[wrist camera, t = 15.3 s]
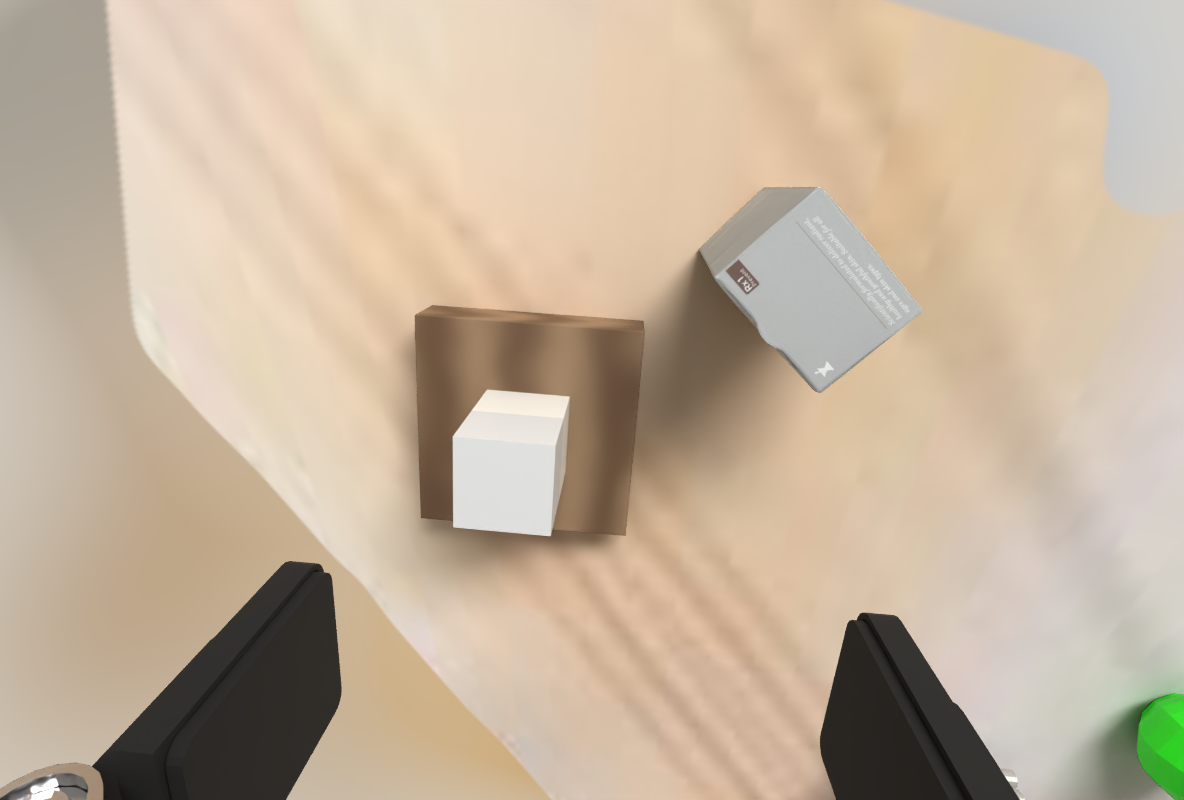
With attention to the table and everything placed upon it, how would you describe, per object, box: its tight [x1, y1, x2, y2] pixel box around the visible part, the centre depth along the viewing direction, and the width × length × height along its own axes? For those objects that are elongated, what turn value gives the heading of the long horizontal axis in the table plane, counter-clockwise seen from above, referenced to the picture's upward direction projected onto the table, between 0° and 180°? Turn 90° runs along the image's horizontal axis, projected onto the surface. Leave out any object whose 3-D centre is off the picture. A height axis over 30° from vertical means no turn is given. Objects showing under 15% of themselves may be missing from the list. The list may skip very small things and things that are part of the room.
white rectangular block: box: [453, 390, 570, 536], centre depth 40 cm, size 6×6×9 cm
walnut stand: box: [415, 305, 645, 536], centre depth 47 cm, size 16×16×4 cm
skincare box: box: [699, 187, 922, 393], centre depth 36 cm, size 8×7×16 cm
